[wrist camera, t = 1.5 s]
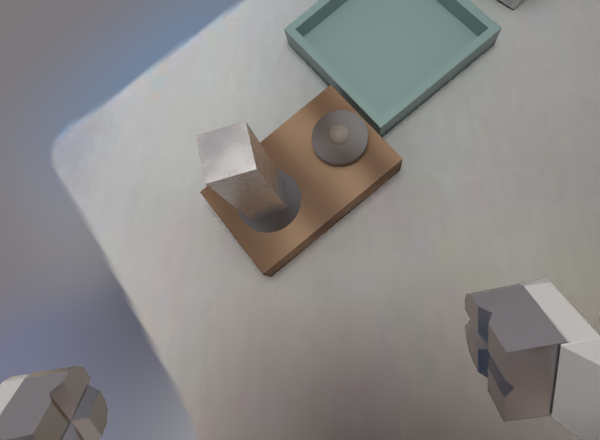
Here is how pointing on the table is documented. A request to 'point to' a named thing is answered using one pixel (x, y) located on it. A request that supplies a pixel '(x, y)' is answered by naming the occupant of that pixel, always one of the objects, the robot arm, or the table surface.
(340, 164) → the block
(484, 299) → the robot arm
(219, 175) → the pin
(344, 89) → the tray
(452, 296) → the table surface
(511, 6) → the light bulb box
